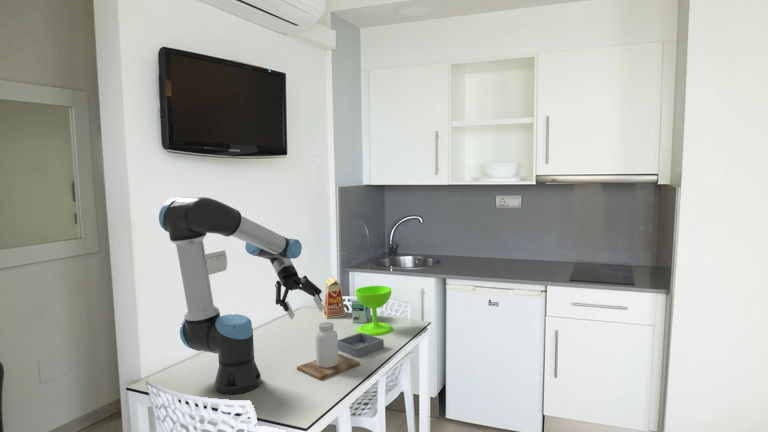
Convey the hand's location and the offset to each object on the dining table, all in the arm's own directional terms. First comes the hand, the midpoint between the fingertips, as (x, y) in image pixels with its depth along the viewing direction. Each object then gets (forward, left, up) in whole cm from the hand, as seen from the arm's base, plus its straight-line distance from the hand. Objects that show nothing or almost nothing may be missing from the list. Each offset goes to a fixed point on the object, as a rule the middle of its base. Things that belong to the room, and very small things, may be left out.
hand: (307, 313), depth 199 cm
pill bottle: (-3, -15, -16) cm, 22 cm away
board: (-3, -15, -17) cm, 23 cm away
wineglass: (+37, +4, -17) cm, 41 cm away
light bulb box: (+43, +20, -17) cm, 51 cm away
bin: (+17, -9, -17) cm, 26 cm away
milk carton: (+39, +36, -17) cm, 56 cm away
